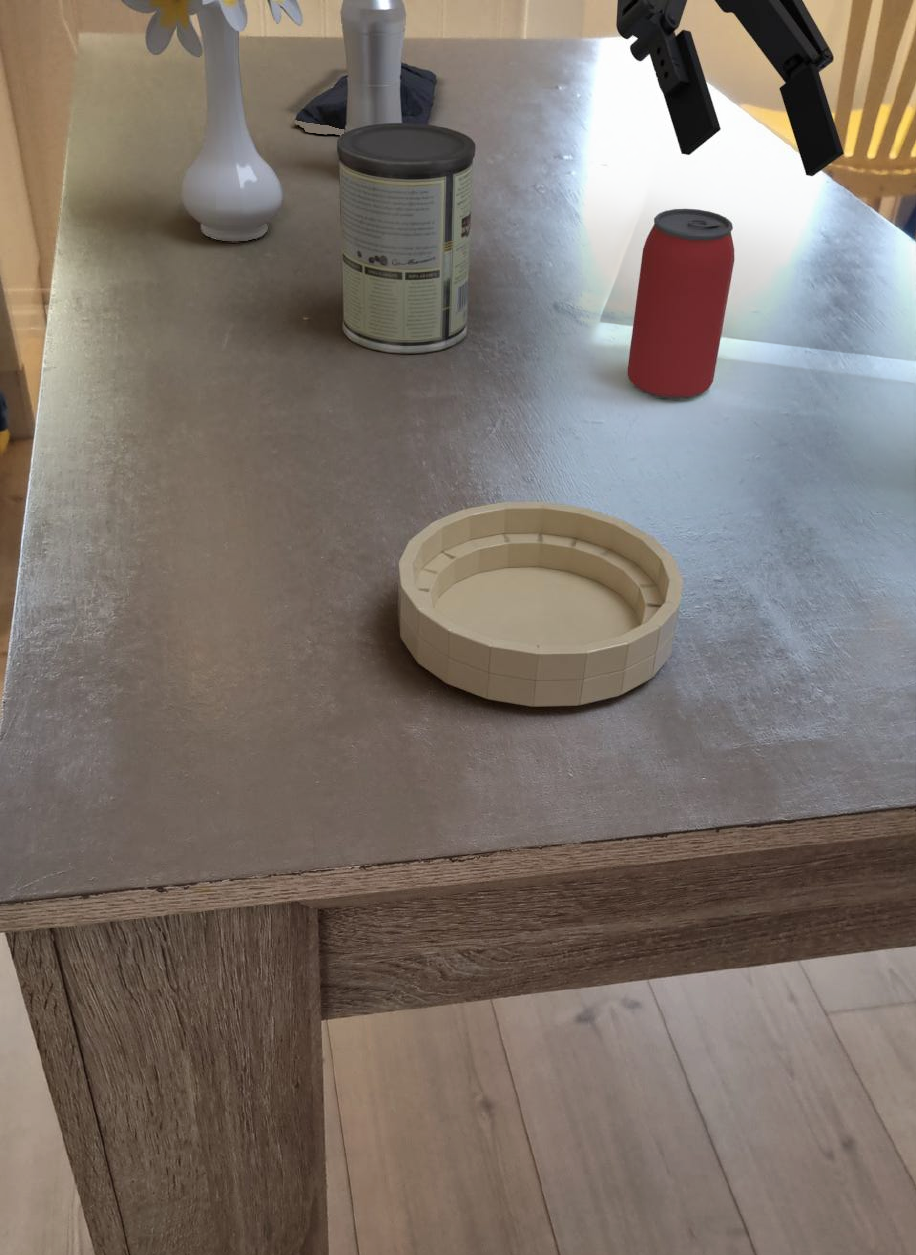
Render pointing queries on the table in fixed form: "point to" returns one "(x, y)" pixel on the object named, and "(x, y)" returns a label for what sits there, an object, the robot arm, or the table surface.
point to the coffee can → (405, 235)
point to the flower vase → (220, 117)
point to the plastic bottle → (373, 60)
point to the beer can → (681, 303)
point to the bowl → (538, 603)
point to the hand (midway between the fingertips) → (766, 154)
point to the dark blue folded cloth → (413, 98)
